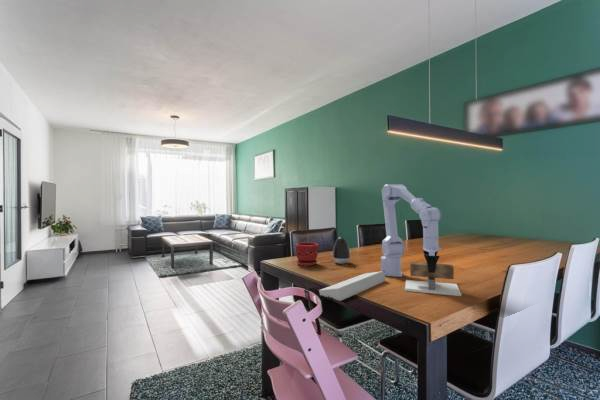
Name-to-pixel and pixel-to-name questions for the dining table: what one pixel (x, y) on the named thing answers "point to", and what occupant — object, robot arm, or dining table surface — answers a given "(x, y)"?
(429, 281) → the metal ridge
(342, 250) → the dark grey rounded shape
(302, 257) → the plant pot
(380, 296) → the dining table surface
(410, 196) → the robot arm
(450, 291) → the grey board
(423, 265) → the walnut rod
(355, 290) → the decorative molding
